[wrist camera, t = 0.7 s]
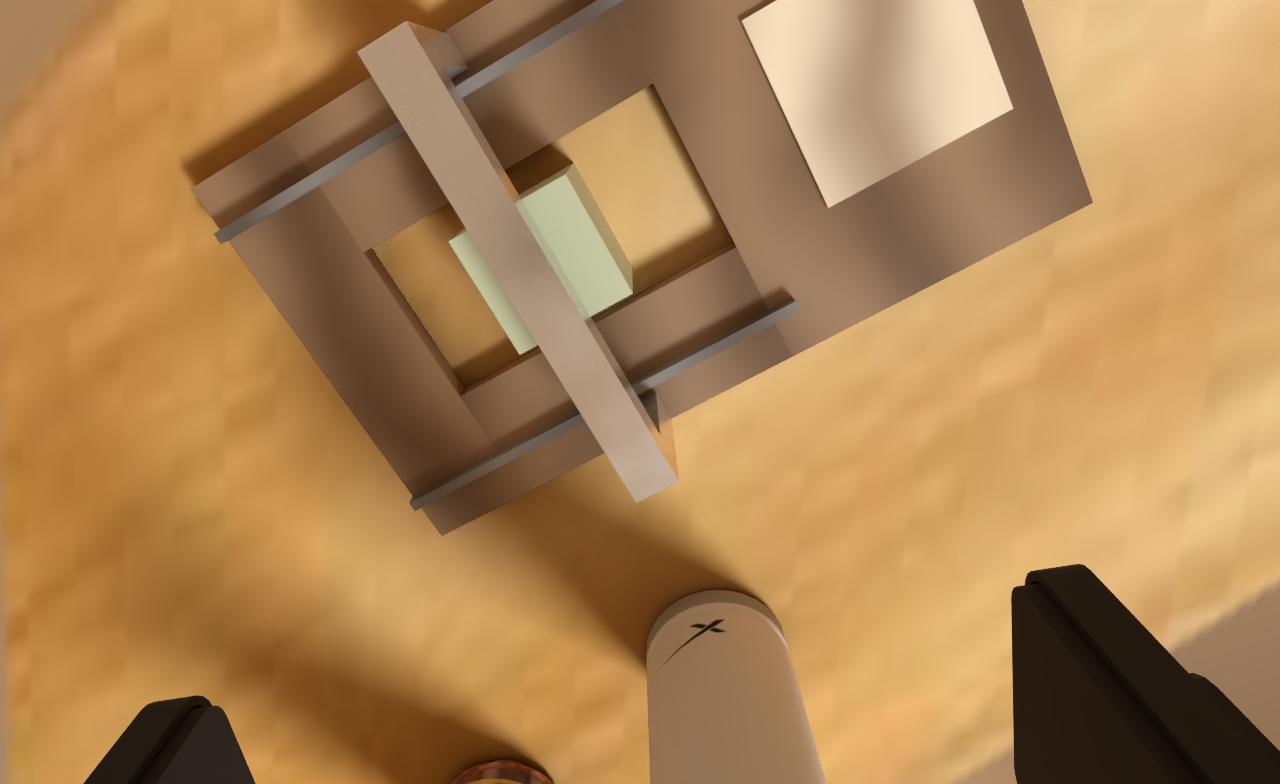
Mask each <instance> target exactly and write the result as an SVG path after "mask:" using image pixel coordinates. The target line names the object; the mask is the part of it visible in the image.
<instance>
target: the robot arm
mask: <svg viewBox="0 0 1280 784" xmlns="http://www.w3.org/2000/svg"><path fill="white" fill-rule="evenodd" d="M1011 603H1012V662H1013V720H1014V768H1015V775H1016V780H1017V784H1280V751H1279V750H1278V749H1277V748H1276V747H1275V746H1274V745H1273V744H1272V743H1271V742H1270V741H1269V740H1268V739H1267V738H1266V737H1265V736H1264V735H1263V734H1262V733H1261V732H1260V731H1259V730H1258V729H1257V728H1256V727H1255V726H1254V724H1252V723H1251V721H1250V720H1249V719H1248V718H1247V717H1245V715H1244V714H1243V713H1242V712H1241V711H1240V710H1239V709H1238V708H1237V707H1236V706H1235V705H1234V704H1233V703H1232V702H1231V701H1230V700H1229V699H1228V698H1227V697H1226V696H1225V695H1224V694H1223V693H1222V692H1221V691H1220V690H1219V689H1218V688H1217V687H1216V686H1215V685H1214V684H1212V683H1211V682H1210V681H1209V680H1207V679H1206V678H1205V677H1202V676H1200V675H1197V674H1195V673H1190V674H1189V673H1188V672H1187V671H1186V670H1185V669H1184V668H1183V667H1182V666H1181V665H1180V664H1179V663H1178V662H1177V661H1176V660H1175V659H1174V657H1173V656H1172V655H1171V654H1170V653H1169V652H1168V651H1167V650H1166V649H1165V648H1164V647H1163V646H1162V645H1161V644H1160V643H1159V642H1158V641H1157V640H1156V639H1155V638H1154V636H1153V635H1152V634H1151V633H1150V632H1149V631H1148V630H1147V629H1146V628H1145V627H1144V626H1143V625H1142V624H1141V623H1140V622H1139V621H1138V620H1137V619H1136V618H1135V616H1134V615H1133V614H1132V613H1131V612H1130V611H1129V610H1128V609H1127V608H1126V607H1125V606H1124V605H1123V604H1122V603H1121V602H1120V601H1119V600H1118V599H1117V598H1116V597H1115V595H1114V594H1113V593H1112V592H1111V591H1110V590H1109V589H1108V588H1107V587H1106V586H1105V585H1104V584H1103V583H1102V582H1101V581H1100V580H1099V579H1098V578H1097V577H1096V576H1095V574H1094V573H1093V572H1092V571H1091V570H1090V569H1088V568H1087V567H1086V566H1085V565H1081V564H1076V565H1069V566H1062V567H1056V568H1049V569H1042V570H1036V571H1031V572H1029V573H1028V574H1027V577H1026V579H1025V585H1024V586H1018V587H1015V588H1013V591H1012V598H1011ZM84 784H255V782H254V779H253V777H252V774H251V772H250V770H249V767H248V765H247V763H246V760H245V758H244V756H243V753H242V751H241V749H240V746H239V744H238V742H237V739H236V737H235V735H234V732H233V730H232V728H231V725H230V723H229V721H228V718H227V716H226V714H225V712H224V711H223V709H221V708H220V707H219V706H212V704H211V703H210V701H209V700H208V699H206V698H205V697H204V696H191V697H184V698H177V699H171V700H164V701H157V702H153V703H150V704H148V705H146V706H145V707H144V708H143V709H142V710H141V711H140V712H139V713H138V715H137V716H136V717H135V719H134V720H133V721H132V722H131V724H130V725H129V726H128V727H127V729H126V730H125V731H124V733H123V734H122V735H121V736H120V738H119V739H118V740H117V741H116V743H115V744H114V745H113V747H112V748H111V749H110V750H109V752H108V753H107V754H106V755H105V757H104V758H103V759H102V761H101V762H100V763H99V764H98V766H97V767H96V768H95V770H94V771H93V772H92V773H91V775H90V776H89V777H88V778H87V780H86V781H85V782H84Z"/></svg>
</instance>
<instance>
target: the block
mask: <svg viewBox="0 0 1280 784" xmlns="http://www.w3.org/2000/svg"><path fill="white" fill-rule="evenodd" d="M519 196H520V198H521V199H522V201H523V203H524V205H525V206H526V208H527V210H528V211H529V213H530V215H531V216H532V218H533V220H534V222H535V223H536V225H537V227H538V228H539V230H540V232H541V233H542V235H543V237H544V239H545V240H546V242H547V244H548V245H549V247H550V249H551V250H552V252H553V254H554V255H555V257H556V259H557V261H558V262H559V264H560V266H561V267H562V269H563V271H564V272H565V274H566V276H567V278H568V279H569V281H570V283H571V284H572V286H573V288H574V289H575V291H576V293H577V295H578V296H579V298H580V300H581V301H582V303H583V305H584V306H585V308H586V310H587V312H588V313H589V315H590V317H591V316H593V315H594V314H596V313H598V312H600V311H602V310H604V309H606V308H607V307H609V306H611V305H613V304H615V303H617V302H618V301H620V300H622V299H624V298H626V297H628V296H629V295H631V294H633V277H632V266H631V264H630V262H629V261H628V259H627V257H626V255H625V253H624V252H623V250H622V248H621V246H620V245H619V243H618V241H617V239H616V237H615V236H614V234H613V232H612V230H611V228H610V227H609V225H608V223H607V221H606V219H605V218H604V216H603V214H602V212H601V210H600V209H599V207H598V205H597V203H596V202H595V200H594V198H593V196H592V194H591V193H590V191H589V189H588V187H587V185H586V184H585V182H584V180H583V178H582V176H581V175H580V173H579V171H578V169H577V168H576V166H575V164H574V163H572V164H571V165H569V166H567V167H565V168H564V169H562V170H560V171H558V172H557V173H555V174H553V175H551V176H550V177H548V178H546V179H545V180H543V181H541V182H539V183H538V184H536V185H534V186H532V187H531V188H529V189H527V190H526V191H524V192H522V193H520V194H519ZM448 242H449V244H450V245H451V247H452V248H453V250H454V252H455V253H456V255H457V256H458V258H459V260H460V261H461V263H462V264H463V266H464V267H465V269H466V271H467V272H468V274H469V275H470V277H471V279H472V280H473V282H474V283H475V285H476V287H477V288H478V290H479V291H480V293H481V294H482V296H483V298H484V299H485V301H486V302H487V304H488V306H489V307H490V309H491V310H492V312H493V314H494V315H495V317H496V318H497V320H498V321H499V323H500V325H501V326H502V328H503V329H504V331H505V333H506V334H507V336H508V337H509V339H510V340H511V342H512V344H513V345H514V347H515V348H516V350H517V352H518V353H519V355H521V354H523V353H524V352H526V351H528V350H530V349H532V348H534V347H535V346H537V345H538V344H537V342H536V341H535V339H534V337H533V336H532V334H531V333H530V331H529V329H528V328H527V326H526V325H525V323H524V321H523V320H522V318H521V316H520V315H519V313H518V312H517V310H516V308H515V307H514V305H513V304H512V302H511V300H510V299H509V297H508V295H507V294H506V292H505V291H504V289H503V287H502V286H501V284H500V283H499V281H498V279H497V278H496V276H495V275H494V273H493V271H492V270H491V268H490V266H489V265H488V263H487V262H486V260H485V258H484V257H483V255H482V254H481V252H480V250H479V249H478V247H477V245H476V244H475V242H474V241H473V239H472V237H471V236H470V234H469V233H468V231H467V229H466V228H464V229H462V230H461V231H460V232H459V233H458V234H457V235H455V236H454V237H453V238H452V239H451V240H450V241H448Z"/></svg>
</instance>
